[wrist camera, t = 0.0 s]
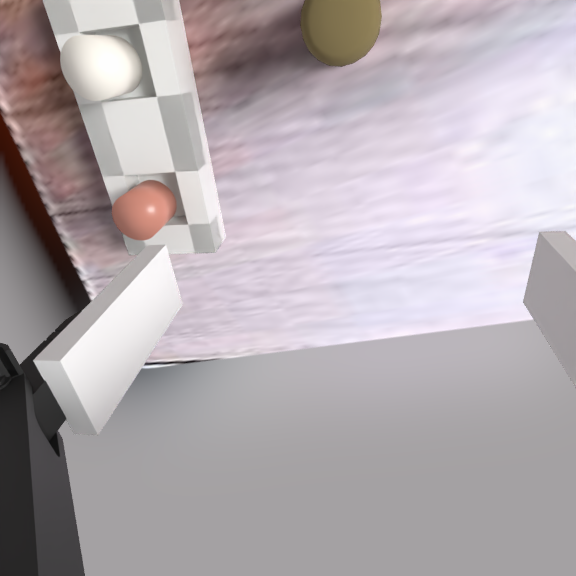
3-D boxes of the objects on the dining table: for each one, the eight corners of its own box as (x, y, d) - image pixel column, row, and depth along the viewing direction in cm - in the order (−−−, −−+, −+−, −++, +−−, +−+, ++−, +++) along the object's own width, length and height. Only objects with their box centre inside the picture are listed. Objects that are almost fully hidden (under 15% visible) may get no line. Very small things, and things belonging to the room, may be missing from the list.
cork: (323, 76, 37) (311, 91, 27) (297, 1, 34) (275, -11, 25) (390, 46, 35) (401, 50, 25) (368, -37, 32) (372, -65, 23)
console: (68, -9, 36) (38, -13, 33) (174, -26, 34) (154, -32, 31) (145, 240, 48) (129, 255, 45) (225, 237, 47) (215, 252, 43)
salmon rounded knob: (128, 181, 40) (105, 196, 36) (170, 178, 39) (151, 193, 36) (141, 223, 42) (120, 241, 39) (181, 221, 41) (164, 239, 38)
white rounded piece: (84, 38, 34) (50, 38, 30) (133, 31, 33) (104, 31, 29) (102, 96, 36) (73, 103, 32) (148, 91, 35) (123, 98, 32)
